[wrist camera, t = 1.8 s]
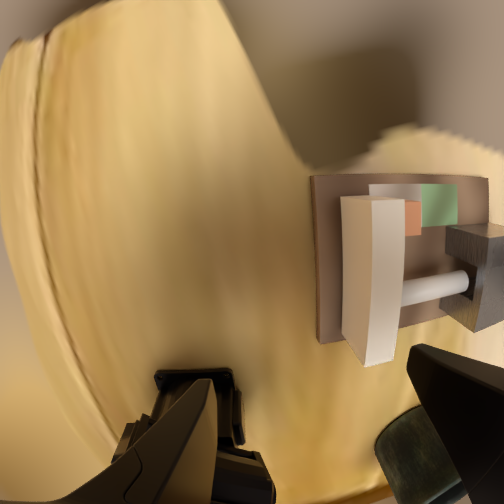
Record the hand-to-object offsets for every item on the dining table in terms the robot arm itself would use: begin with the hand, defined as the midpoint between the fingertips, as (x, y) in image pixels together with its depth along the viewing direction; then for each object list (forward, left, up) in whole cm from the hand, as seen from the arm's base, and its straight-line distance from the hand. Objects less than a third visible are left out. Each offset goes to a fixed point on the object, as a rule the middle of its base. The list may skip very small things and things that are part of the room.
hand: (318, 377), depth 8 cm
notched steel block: (+17, -2, -12) cm, 21 cm away
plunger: (+9, 0, -11) cm, 14 cm away
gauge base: (+11, 0, -12) cm, 17 cm away
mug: (+17, -24, -12) cm, 32 cm away
